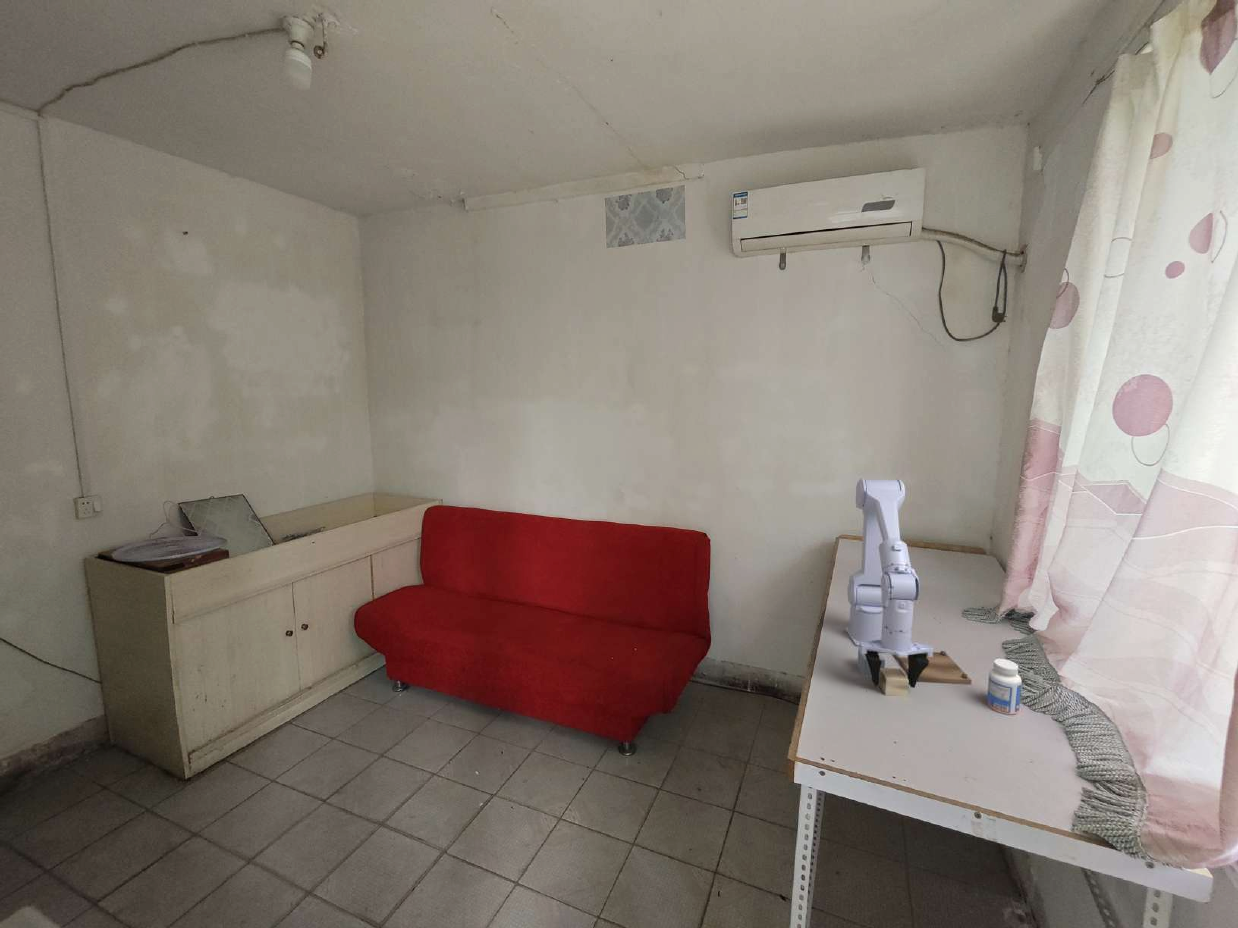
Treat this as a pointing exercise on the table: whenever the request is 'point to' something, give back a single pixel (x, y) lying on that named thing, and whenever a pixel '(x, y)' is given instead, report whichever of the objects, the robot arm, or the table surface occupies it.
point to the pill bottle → (1004, 687)
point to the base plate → (939, 670)
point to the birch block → (893, 682)
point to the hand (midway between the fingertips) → (893, 683)
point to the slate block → (864, 663)
